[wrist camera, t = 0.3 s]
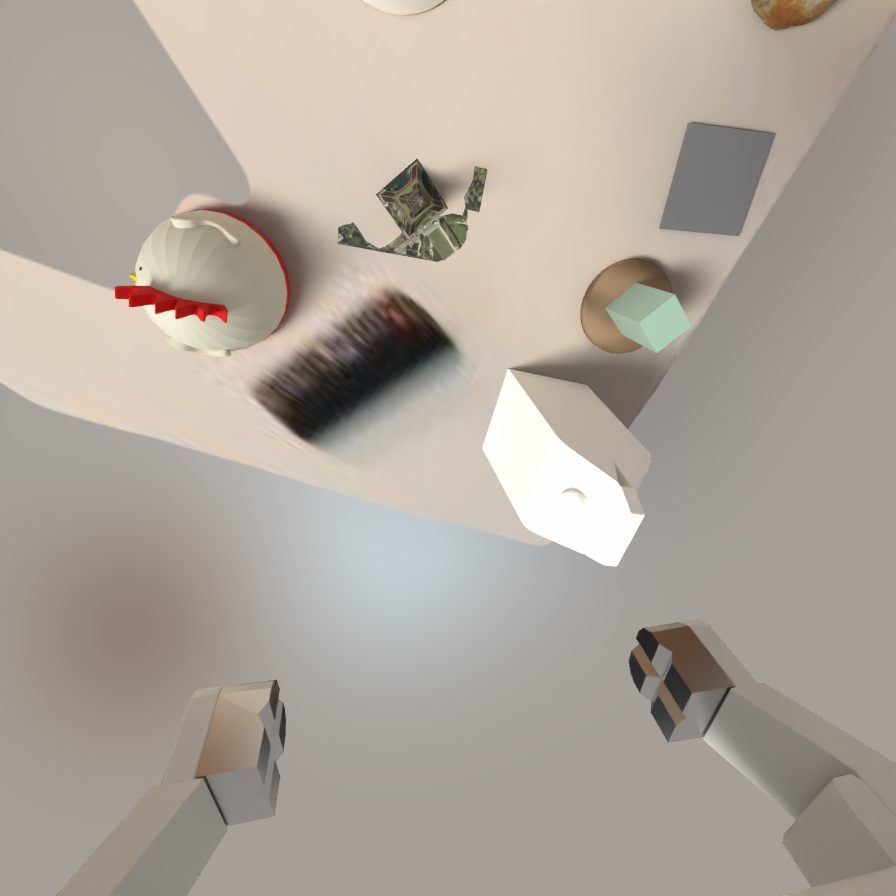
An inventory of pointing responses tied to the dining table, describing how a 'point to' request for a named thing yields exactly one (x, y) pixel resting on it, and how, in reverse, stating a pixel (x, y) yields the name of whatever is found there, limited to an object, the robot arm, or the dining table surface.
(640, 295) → the mint rectangular pillar
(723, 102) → the dining table surface
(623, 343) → the post stand
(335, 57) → the dining table surface
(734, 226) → the charcoal mat
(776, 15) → the bread roll
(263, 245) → the kitchen timer
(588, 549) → the milk
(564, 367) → the dining table surface
